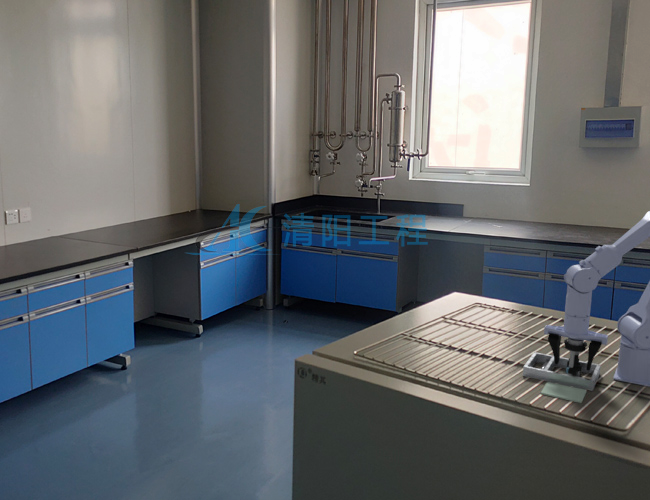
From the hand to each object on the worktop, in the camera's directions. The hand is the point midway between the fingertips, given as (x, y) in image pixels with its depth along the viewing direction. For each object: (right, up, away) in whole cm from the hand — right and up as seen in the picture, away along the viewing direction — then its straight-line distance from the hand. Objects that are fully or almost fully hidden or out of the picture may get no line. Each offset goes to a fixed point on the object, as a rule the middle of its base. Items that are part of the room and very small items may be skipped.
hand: (572, 365), depth 151 cm
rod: (-6, -1, +4) cm, 8 cm away
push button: (0, -3, +1) cm, 3 cm away
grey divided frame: (-2, -3, +2) cm, 4 cm away
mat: (-5, -5, -8) cm, 11 cm away
